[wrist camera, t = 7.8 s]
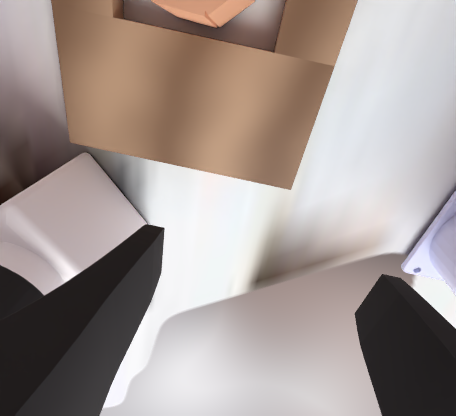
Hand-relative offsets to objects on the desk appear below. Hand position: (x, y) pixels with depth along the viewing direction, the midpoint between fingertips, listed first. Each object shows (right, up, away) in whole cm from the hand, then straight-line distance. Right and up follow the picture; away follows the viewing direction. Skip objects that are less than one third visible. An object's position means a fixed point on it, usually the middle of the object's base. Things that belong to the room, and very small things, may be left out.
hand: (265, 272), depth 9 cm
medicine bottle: (-12, +2, +12) cm, 17 cm away
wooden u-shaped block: (-3, +10, +6) cm, 12 cm away
